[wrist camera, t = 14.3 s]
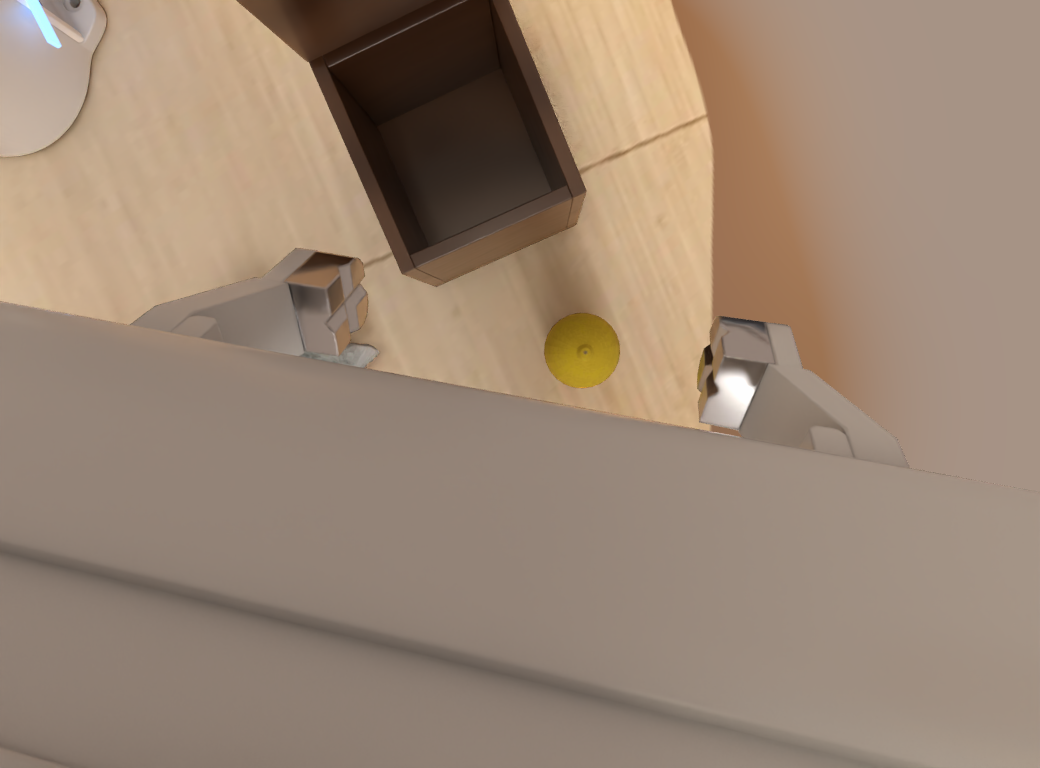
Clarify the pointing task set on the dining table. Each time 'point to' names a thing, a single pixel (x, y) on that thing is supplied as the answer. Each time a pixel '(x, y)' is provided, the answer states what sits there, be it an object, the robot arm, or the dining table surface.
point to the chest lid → (326, 20)
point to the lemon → (582, 350)
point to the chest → (452, 137)
